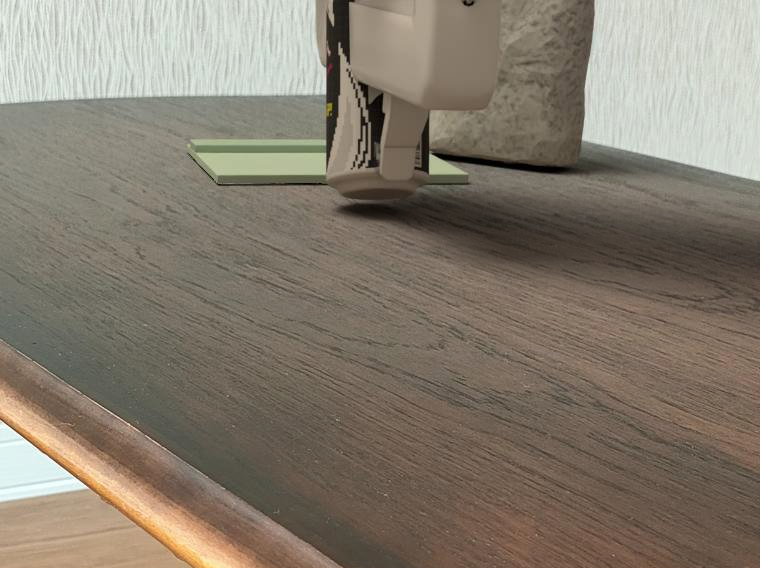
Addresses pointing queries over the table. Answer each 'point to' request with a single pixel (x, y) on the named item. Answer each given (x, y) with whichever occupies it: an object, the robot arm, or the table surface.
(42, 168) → the table surface
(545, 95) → the decorative stone
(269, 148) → the green tray
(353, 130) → the beverage can
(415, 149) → the robot arm
